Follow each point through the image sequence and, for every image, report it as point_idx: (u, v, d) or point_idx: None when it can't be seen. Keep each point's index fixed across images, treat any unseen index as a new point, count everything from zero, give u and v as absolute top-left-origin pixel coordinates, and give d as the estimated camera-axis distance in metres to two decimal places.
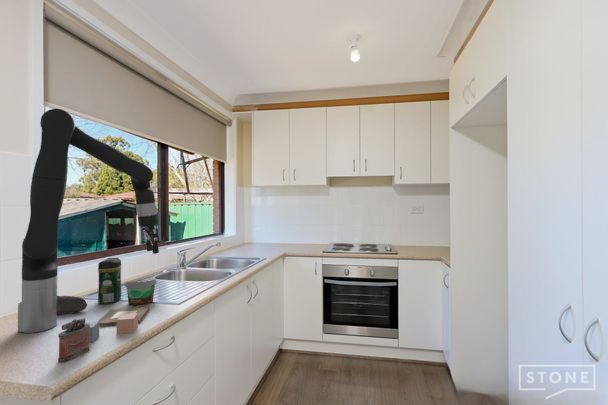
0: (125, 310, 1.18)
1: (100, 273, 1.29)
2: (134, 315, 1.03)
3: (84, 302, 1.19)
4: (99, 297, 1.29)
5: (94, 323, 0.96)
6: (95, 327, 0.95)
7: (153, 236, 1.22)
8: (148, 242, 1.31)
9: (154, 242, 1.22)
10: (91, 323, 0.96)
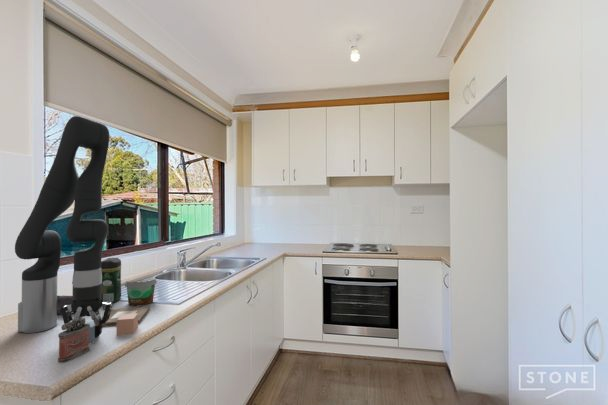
0: (125, 310, 1.18)
1: None
2: (134, 315, 1.03)
3: None
4: None
5: (94, 323, 0.96)
6: None
7: None
8: None
9: None
10: (91, 323, 0.96)
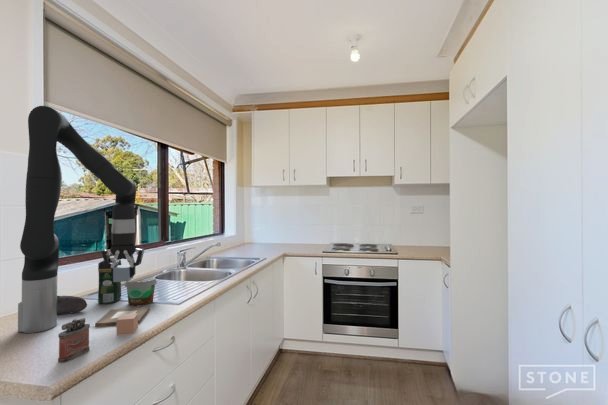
0: (125, 310, 1.18)
1: (100, 273, 1.29)
2: (134, 315, 1.03)
3: (84, 302, 1.19)
4: (99, 297, 1.29)
5: (129, 265, 1.13)
6: None
7: None
8: None
9: None
10: (126, 265, 1.13)
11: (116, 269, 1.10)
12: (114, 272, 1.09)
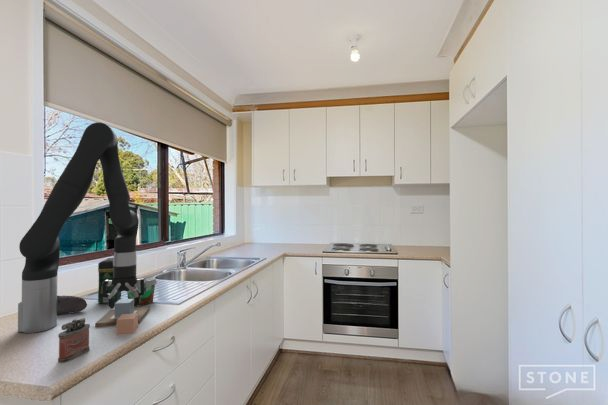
0: None
1: (100, 273, 1.29)
2: (134, 315, 1.03)
3: (84, 302, 1.19)
4: (99, 297, 1.29)
5: (130, 300, 1.15)
6: (131, 303, 1.14)
7: None
8: None
9: None
10: (127, 300, 1.15)
11: (117, 304, 1.11)
12: (115, 307, 1.11)
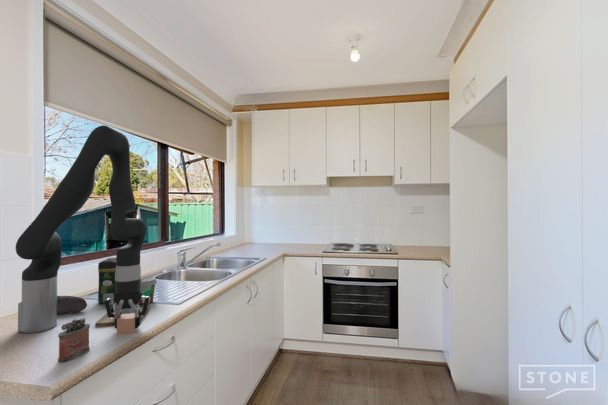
0: None
1: (100, 273, 1.29)
2: (134, 315, 1.03)
3: (84, 302, 1.19)
4: (99, 297, 1.29)
5: None
6: None
7: None
8: None
9: None
10: None
11: None
12: (115, 307, 1.11)
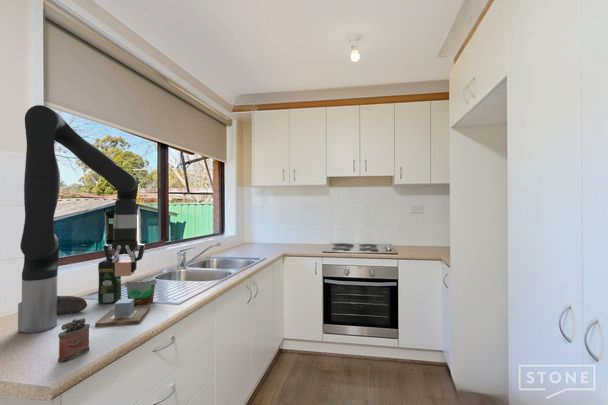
0: None
1: (100, 273, 1.29)
2: None
3: (84, 302, 1.19)
4: (99, 297, 1.29)
5: (130, 300, 1.15)
6: (131, 303, 1.14)
7: None
8: None
9: None
10: (127, 300, 1.15)
11: (117, 304, 1.11)
12: (115, 307, 1.11)
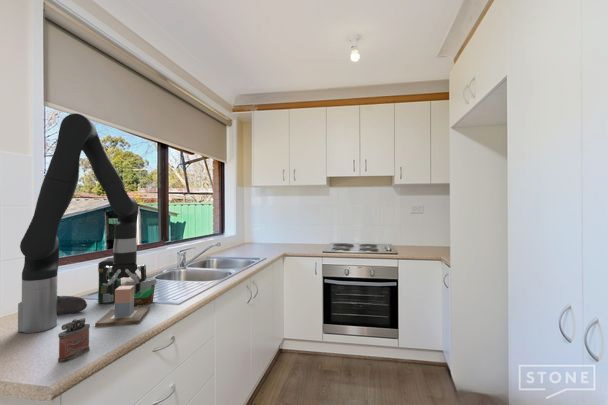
0: None
1: (100, 273, 1.29)
2: (130, 287, 1.15)
3: (84, 302, 1.19)
4: (99, 297, 1.29)
5: None
6: (131, 303, 1.14)
7: None
8: None
9: None
10: None
11: (117, 304, 1.11)
12: (115, 307, 1.11)
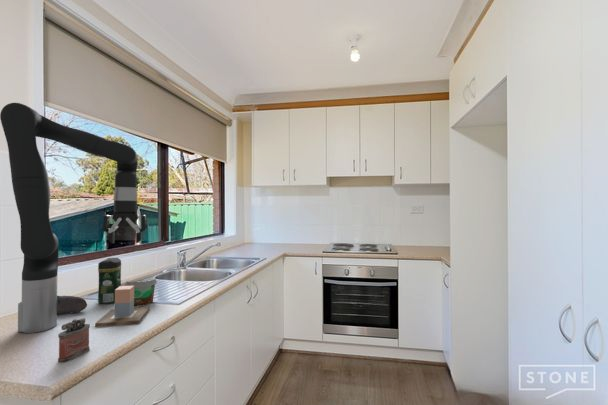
0: None
1: (100, 273, 1.29)
2: (130, 287, 1.15)
3: (84, 302, 1.19)
4: (99, 297, 1.29)
5: None
6: (131, 303, 1.14)
7: None
8: None
9: None
10: None
11: (117, 304, 1.11)
12: (115, 307, 1.11)
